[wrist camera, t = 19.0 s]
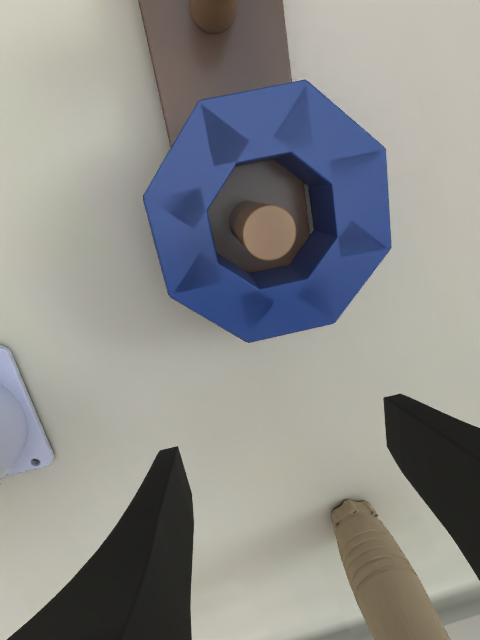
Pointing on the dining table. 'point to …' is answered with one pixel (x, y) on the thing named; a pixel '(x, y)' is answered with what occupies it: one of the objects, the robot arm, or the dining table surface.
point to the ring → (325, 196)
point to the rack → (222, 79)
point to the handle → (383, 577)
